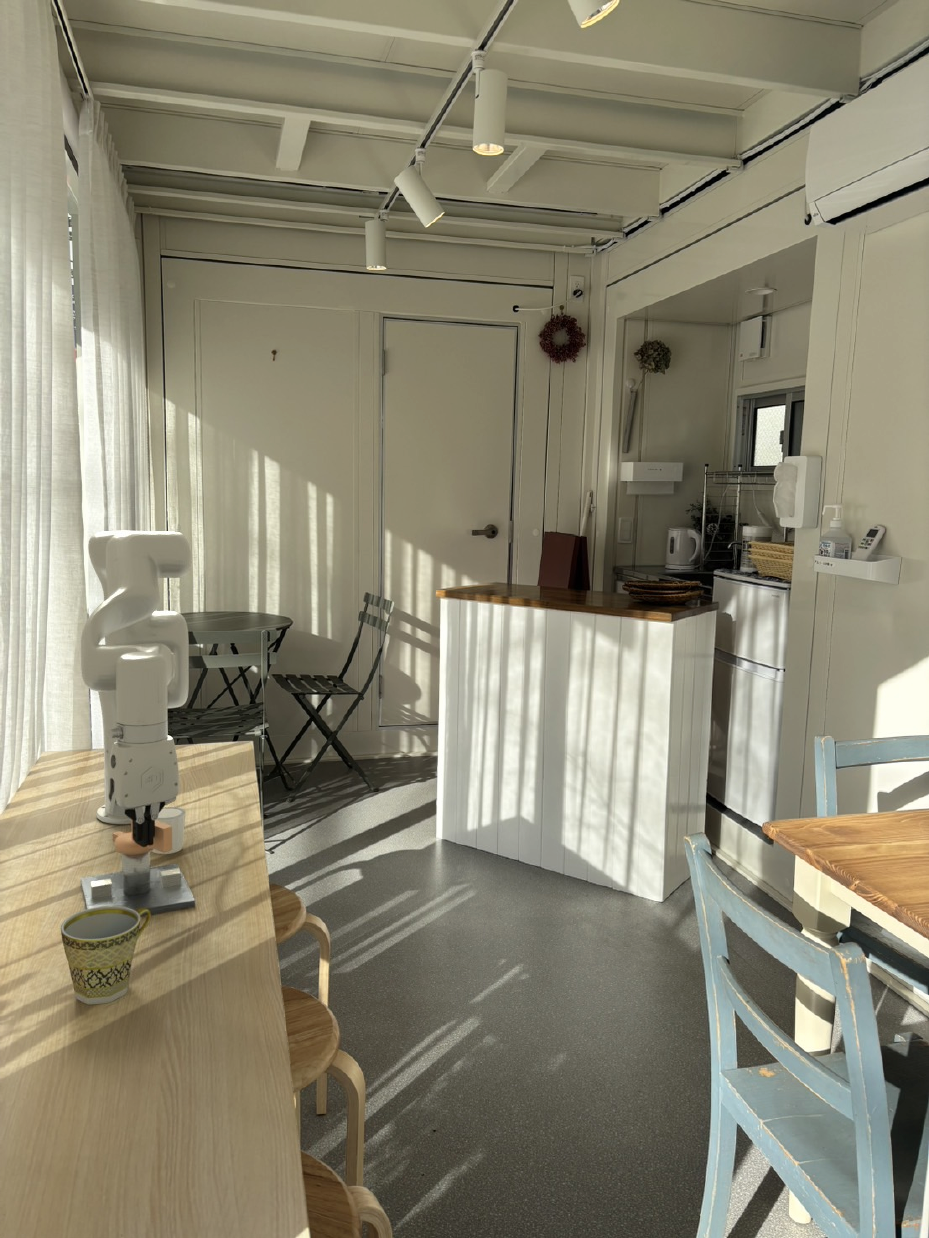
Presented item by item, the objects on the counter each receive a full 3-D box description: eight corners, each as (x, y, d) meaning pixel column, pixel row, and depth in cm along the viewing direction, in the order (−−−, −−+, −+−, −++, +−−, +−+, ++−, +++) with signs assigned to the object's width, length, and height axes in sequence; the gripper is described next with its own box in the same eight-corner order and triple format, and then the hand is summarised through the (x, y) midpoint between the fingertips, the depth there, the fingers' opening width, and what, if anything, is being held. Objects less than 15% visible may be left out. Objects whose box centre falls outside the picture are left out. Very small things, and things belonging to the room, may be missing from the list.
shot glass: (174, 857, 171) (174, 820, 170) (140, 852, 173) (140, 816, 172) (192, 843, 178) (192, 808, 177) (159, 839, 179) (159, 804, 178)
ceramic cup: (94, 1020, 119) (92, 947, 118) (46, 996, 124) (44, 925, 123) (174, 977, 130) (173, 910, 129) (127, 956, 135) (126, 891, 134)
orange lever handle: (99, 845, 154) (98, 812, 153) (133, 834, 159) (132, 802, 159) (151, 867, 146) (150, 833, 145) (184, 855, 151) (184, 822, 151)
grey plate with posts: (80, 884, 158) (79, 838, 157) (177, 870, 166) (177, 826, 164) (89, 924, 144) (88, 874, 143) (195, 907, 151) (194, 859, 150)
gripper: (107, 745, 137) (109, 863, 139) (198, 728, 148) (198, 838, 150) (84, 734, 142) (87, 848, 145) (174, 719, 153) (174, 826, 155)
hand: (143, 843), depth 147 cm, fingers closed
